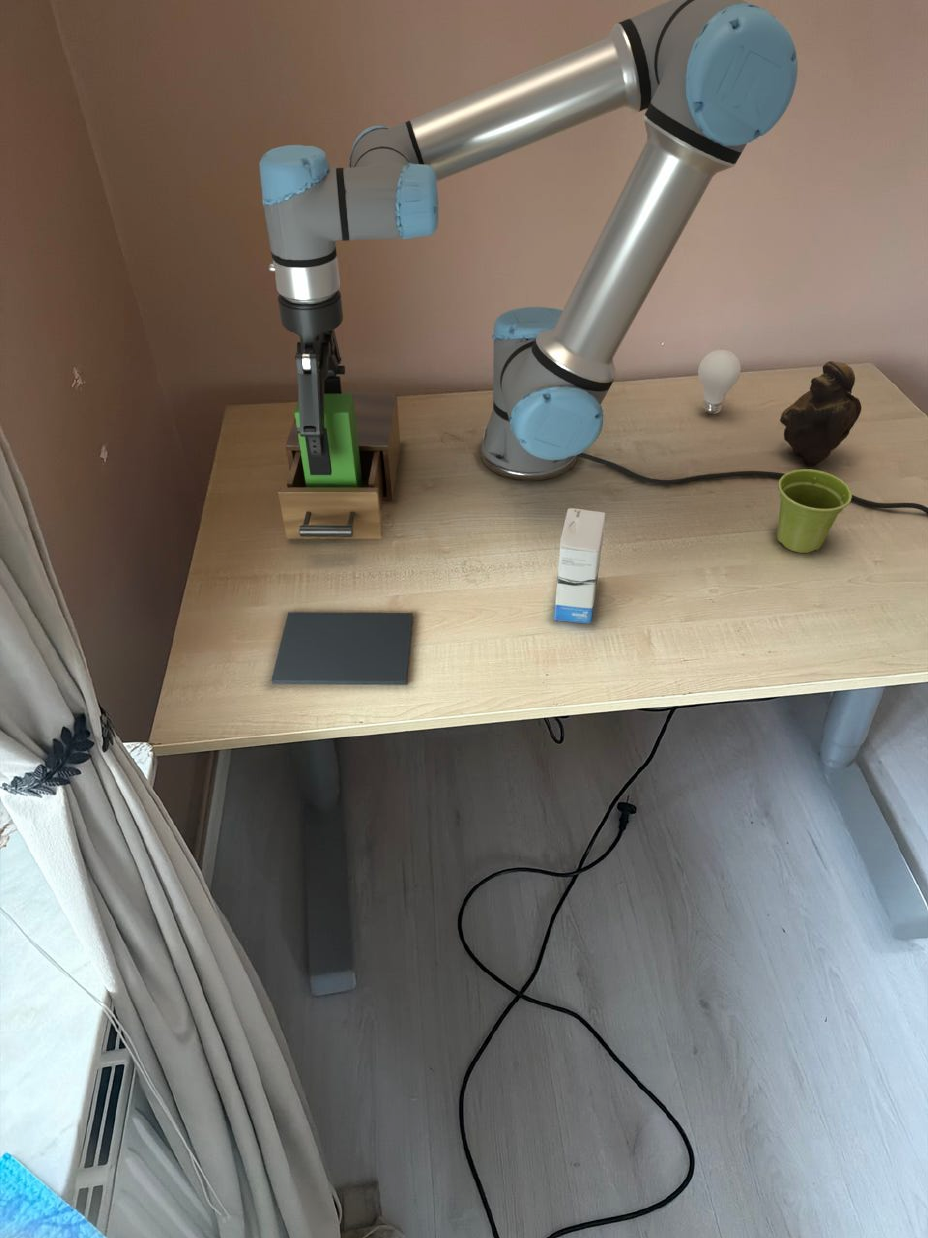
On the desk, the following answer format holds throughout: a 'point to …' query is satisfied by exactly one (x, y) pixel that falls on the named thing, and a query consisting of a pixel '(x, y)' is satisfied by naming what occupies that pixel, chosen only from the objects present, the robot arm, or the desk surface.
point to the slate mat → (344, 648)
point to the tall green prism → (336, 445)
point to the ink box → (579, 565)
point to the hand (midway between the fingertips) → (328, 445)
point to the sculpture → (822, 414)
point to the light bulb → (718, 378)
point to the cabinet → (370, 432)
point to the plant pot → (809, 508)
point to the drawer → (334, 504)
